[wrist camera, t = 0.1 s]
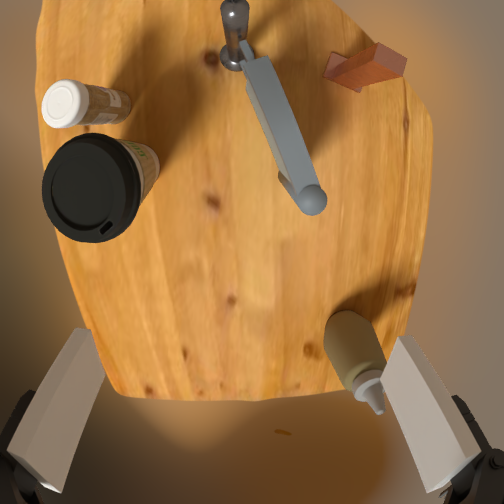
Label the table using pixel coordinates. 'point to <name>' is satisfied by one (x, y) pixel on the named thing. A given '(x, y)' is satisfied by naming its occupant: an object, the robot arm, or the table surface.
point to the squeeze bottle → (356, 357)
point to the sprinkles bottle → (83, 105)
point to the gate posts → (338, 68)
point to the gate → (282, 133)
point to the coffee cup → (97, 186)
